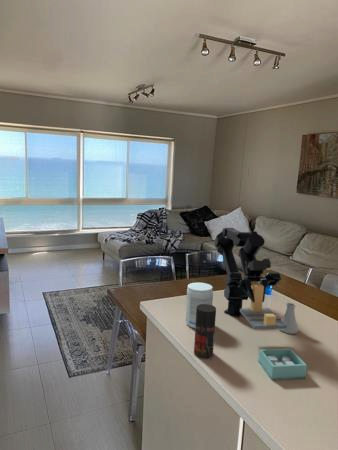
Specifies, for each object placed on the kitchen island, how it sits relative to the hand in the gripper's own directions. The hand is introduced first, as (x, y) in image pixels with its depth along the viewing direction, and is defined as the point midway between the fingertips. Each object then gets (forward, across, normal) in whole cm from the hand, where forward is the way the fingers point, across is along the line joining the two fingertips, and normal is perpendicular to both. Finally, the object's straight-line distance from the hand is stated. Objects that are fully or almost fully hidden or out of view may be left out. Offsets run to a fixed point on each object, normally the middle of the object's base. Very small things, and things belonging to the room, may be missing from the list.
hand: (258, 301), depth 112 cm
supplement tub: (+1, -17, +18) cm, 25 cm away
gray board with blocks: (+6, 0, +1) cm, 6 cm away
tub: (+22, 0, -4) cm, 23 cm away
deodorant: (+16, -20, +4) cm, 26 cm away
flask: (+6, +15, +14) cm, 21 cm away
